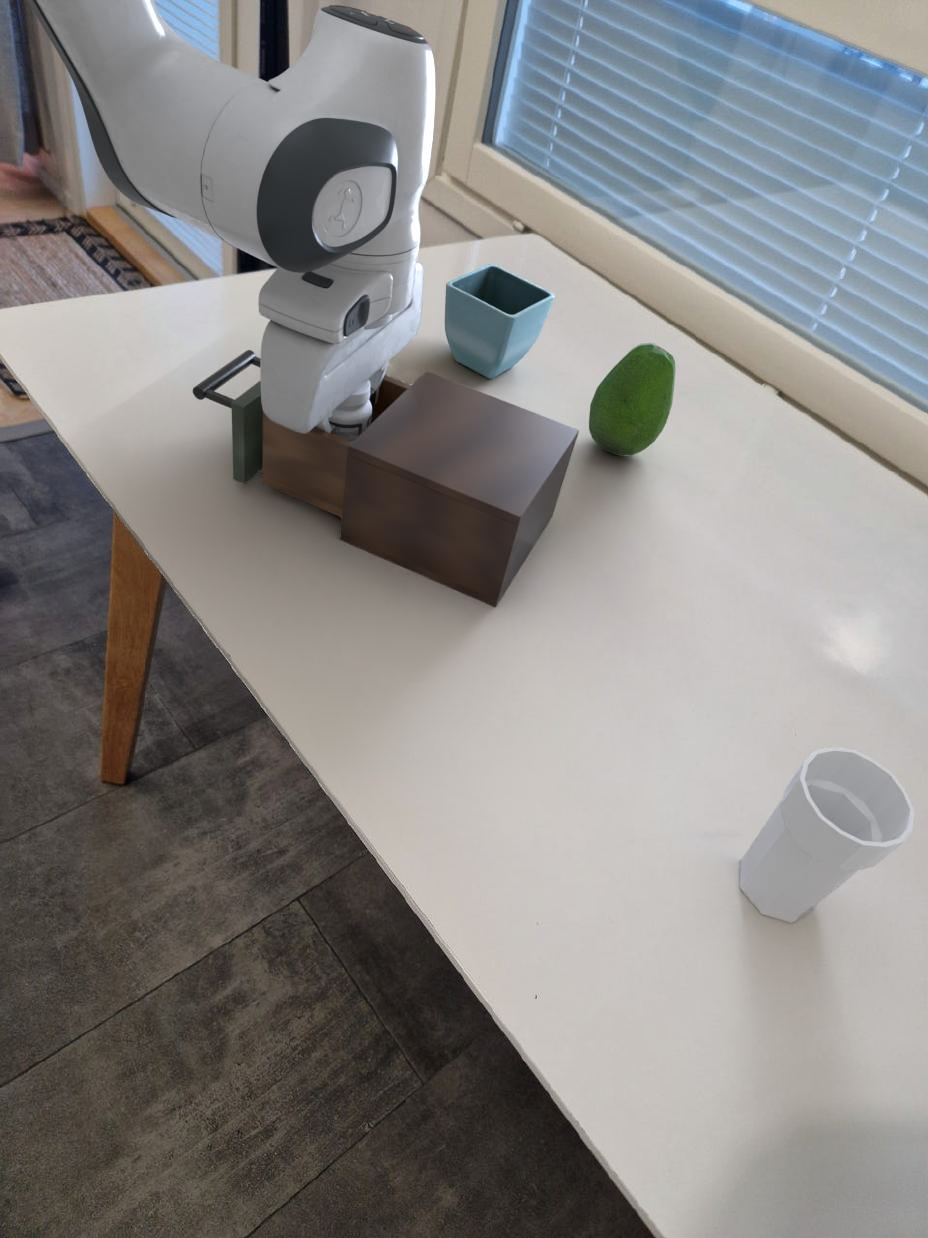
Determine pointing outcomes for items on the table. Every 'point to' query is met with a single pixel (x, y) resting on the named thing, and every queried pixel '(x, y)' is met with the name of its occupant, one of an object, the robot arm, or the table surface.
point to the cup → (825, 832)
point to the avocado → (633, 401)
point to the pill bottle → (353, 414)
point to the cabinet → (455, 485)
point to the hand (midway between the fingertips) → (343, 423)
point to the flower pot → (493, 318)
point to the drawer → (287, 441)
